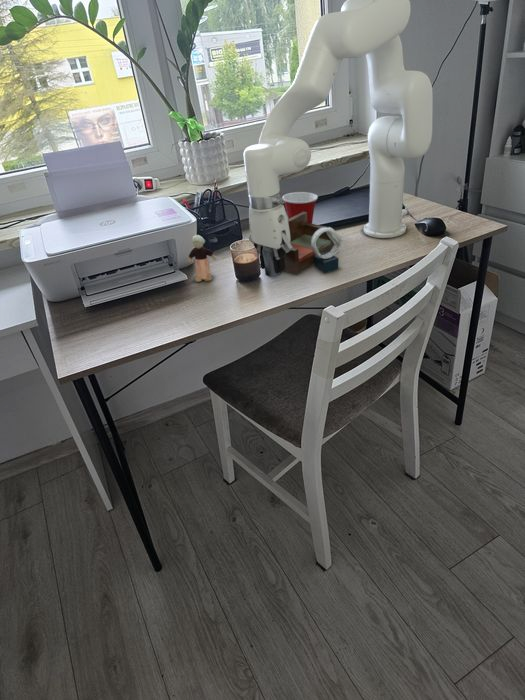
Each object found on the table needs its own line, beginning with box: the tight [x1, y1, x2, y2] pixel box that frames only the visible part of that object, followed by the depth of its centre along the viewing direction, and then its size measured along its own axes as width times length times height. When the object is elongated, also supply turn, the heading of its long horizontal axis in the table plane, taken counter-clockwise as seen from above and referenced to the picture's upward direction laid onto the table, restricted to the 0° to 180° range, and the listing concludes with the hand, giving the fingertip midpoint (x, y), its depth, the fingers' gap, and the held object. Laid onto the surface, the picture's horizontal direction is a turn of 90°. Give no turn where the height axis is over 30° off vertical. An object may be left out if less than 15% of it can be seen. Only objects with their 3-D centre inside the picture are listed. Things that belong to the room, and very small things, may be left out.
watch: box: [311, 226, 343, 274], centre depth 122 cm, size 6×8×11 cm
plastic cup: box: [281, 191, 319, 224], centre depth 143 cm, size 11×11×12 cm
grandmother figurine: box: [187, 234, 217, 283], centre depth 123 cm, size 8×4×13 cm, turn 99°
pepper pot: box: [262, 246, 283, 278], centre depth 120 cm, size 4×4×8 cm
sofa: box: [279, 212, 335, 276], centre depth 128 cm, size 17×11×10 cm, turn 136°
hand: (273, 268), depth 121 cm, fingers closed on pepper pot, 4 cm apart
